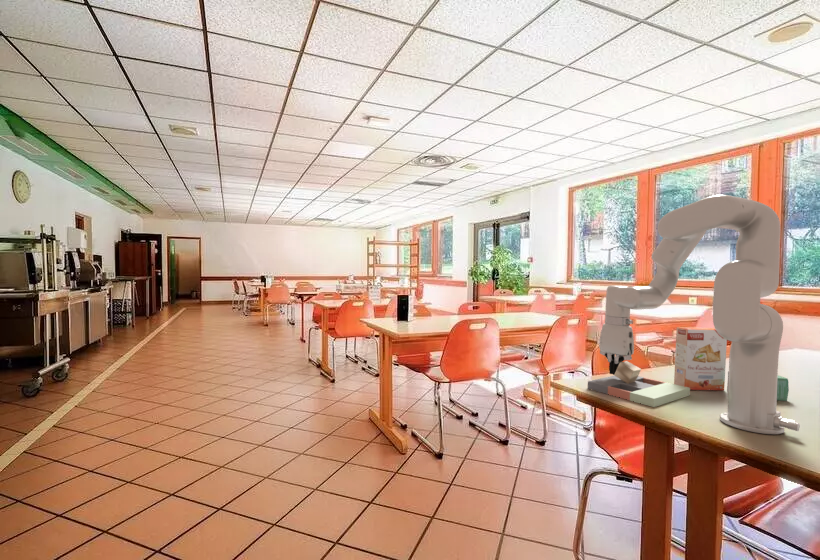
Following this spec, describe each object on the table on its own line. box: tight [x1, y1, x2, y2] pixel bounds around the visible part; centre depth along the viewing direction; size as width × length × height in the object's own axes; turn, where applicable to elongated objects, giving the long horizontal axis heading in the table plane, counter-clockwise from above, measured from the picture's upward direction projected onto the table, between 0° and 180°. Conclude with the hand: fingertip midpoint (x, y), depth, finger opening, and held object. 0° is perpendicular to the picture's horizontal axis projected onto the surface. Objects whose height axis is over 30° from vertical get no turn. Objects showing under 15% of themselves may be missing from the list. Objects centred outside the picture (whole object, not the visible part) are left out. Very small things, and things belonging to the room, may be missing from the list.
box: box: [726, 370, 790, 402], centre depth 127 cm, size 7×14×8 cm, turn 85°
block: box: [613, 360, 642, 384], centre depth 133 cm, size 5×5×5 cm
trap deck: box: [587, 375, 691, 408], centre depth 130 cm, size 21×23×2 cm
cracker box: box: [673, 326, 728, 391], centre depth 135 cm, size 14×6×21 cm, turn 92°
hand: (614, 373), depth 136 cm, fingers closed
